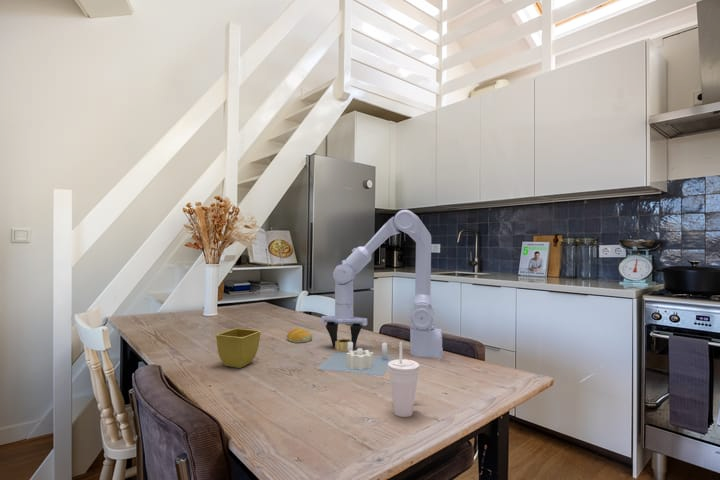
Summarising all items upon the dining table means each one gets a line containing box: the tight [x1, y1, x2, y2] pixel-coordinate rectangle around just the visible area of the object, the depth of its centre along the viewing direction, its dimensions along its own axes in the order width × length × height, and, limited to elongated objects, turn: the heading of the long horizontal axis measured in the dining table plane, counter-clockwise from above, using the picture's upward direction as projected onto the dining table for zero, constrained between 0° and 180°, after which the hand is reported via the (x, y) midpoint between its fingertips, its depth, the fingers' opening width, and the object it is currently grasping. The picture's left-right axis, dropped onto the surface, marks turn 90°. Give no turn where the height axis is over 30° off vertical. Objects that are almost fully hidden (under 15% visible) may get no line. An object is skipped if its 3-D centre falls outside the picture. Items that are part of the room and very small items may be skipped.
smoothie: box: [387, 341, 421, 418], centre depth 74 cm, size 6×6×14 cm
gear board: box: [315, 342, 396, 377], centre depth 102 cm, size 18×16×6 cm
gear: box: [346, 349, 374, 370], centre depth 99 cm, size 7×7×3 cm
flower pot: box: [215, 327, 261, 369], centre depth 104 cm, size 9×9×9 cm
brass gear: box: [334, 338, 351, 352], centre depth 116 cm, size 6×6×3 cm
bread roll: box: [286, 327, 313, 344], centre depth 131 cm, size 8×9×4 cm
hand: (344, 347), depth 116 cm, fingers closed on brass gear, 5 cm apart
